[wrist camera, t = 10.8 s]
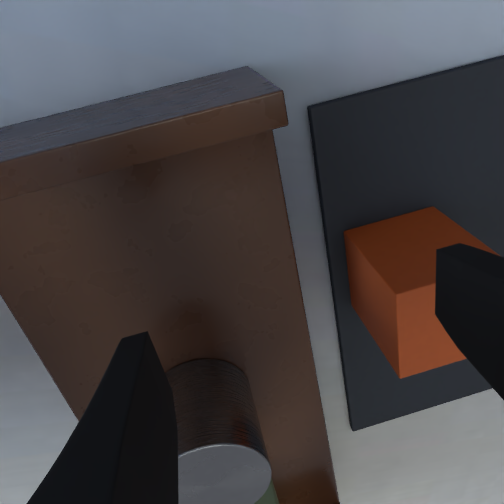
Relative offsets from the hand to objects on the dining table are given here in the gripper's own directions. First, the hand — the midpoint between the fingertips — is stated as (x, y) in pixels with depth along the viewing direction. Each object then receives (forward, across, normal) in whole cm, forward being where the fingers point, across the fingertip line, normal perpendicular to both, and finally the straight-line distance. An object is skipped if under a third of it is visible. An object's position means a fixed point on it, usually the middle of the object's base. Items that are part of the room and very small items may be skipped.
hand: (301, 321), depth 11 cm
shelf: (+9, +4, +8) cm, 13 cm away
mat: (+9, -8, +7) cm, 15 cm away
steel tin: (+7, +4, +8) cm, 12 cm away
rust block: (+9, -6, +5) cm, 12 cm away
